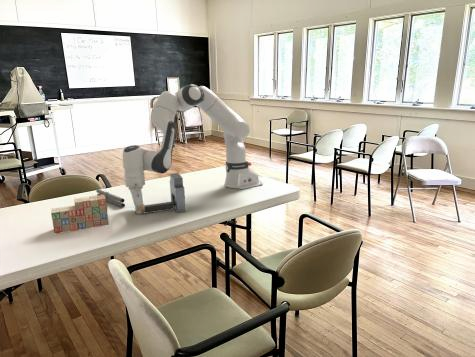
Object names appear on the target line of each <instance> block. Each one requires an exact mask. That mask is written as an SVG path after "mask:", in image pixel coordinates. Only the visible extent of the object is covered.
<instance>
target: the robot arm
mask: <svg viewBox="0 0 475 357" xmlns="http://www.w3.org/2000/svg"><path fill="white" fill-rule="evenodd" d="M195 106H196V107H198V108H199V109H201V110H202V111H203V113H205V115H207V116H208V117H209V118H210V119H211V120H212V121H213V122H214V123H216V124H217V125H218V126H219V127H220V128H221V129H222V133H223V139H224V144H225V157H226V158H225V159H226V160H225V172H226V173H225V180H224V181H225V182H224V187H226V188H230V189H239V190H245V189H248V188H254V187H259V186H263V185H264V183H263V181H262V180H261V179H260V178H259V175H258V173H257V172H256V171H255V170H254V169H252V168H251V166H252V162H250V161H247V160H246V145H245V143H244V139H245V138H246V137H248V136H249V134H250V131H251V127H250V125H249V124H248V122H246V120H245V119H244V118H242V117H241V116H240V115H239V114H238V113H236V112H235V111H234V110H233V109H231V107H229V106H228V105H227V104H226V103H225V102H224V101H223V100H222V99H221V98H220V97H219V96H218V95H216V93H214V92H213V91H212V90H211V89H209V87H206V86H204V85H200V86H198V85H196V84H193V83H190V84H187V85H185V86H183V87H181V88H180V89H178V90H177V91H176V92H175V93H174V92H173V91H168V90H165V91H163V92H161V93H160V94H159V96H158V98H157V100H156V102H155V103H154V106H153V109H152V111H151V114H150V121H151V123H152V125H153V126H154V127H155V128H157V130H159V131H161V132H162V135H163V136H162V141H161V145H160V149H159V150H149V149H144V148H142V147H141V146H140V145H135V144H134V145H128V146H126V147H125V148H124V149H123V151H122V167H123V170H124V175H123V176H124V183H125V184H124V185H125V186H124V187H126V188H128V190H129V191H130V194H131V197H132V202H133V204H134V208H135V207H136V209H137V214H139V215H140V214H142V213H141V206H143V204H144V200H143V191H142V189H144V188H143V187H144V186H145V185H146V177H145V171H147V172H153V173H154V172H155V173H157V174H161V175H162V174H165V173H166V172H168V171H169V170H170V168H171V167H172V165H173V164H172V163H173V150H174V146H175V140H176V135H177V134H176V133H177V124H176V123H175V117H176V114H177V113H185V112H187V111H189V110H192V109H193V108H194V107H195Z"/></svg>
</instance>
